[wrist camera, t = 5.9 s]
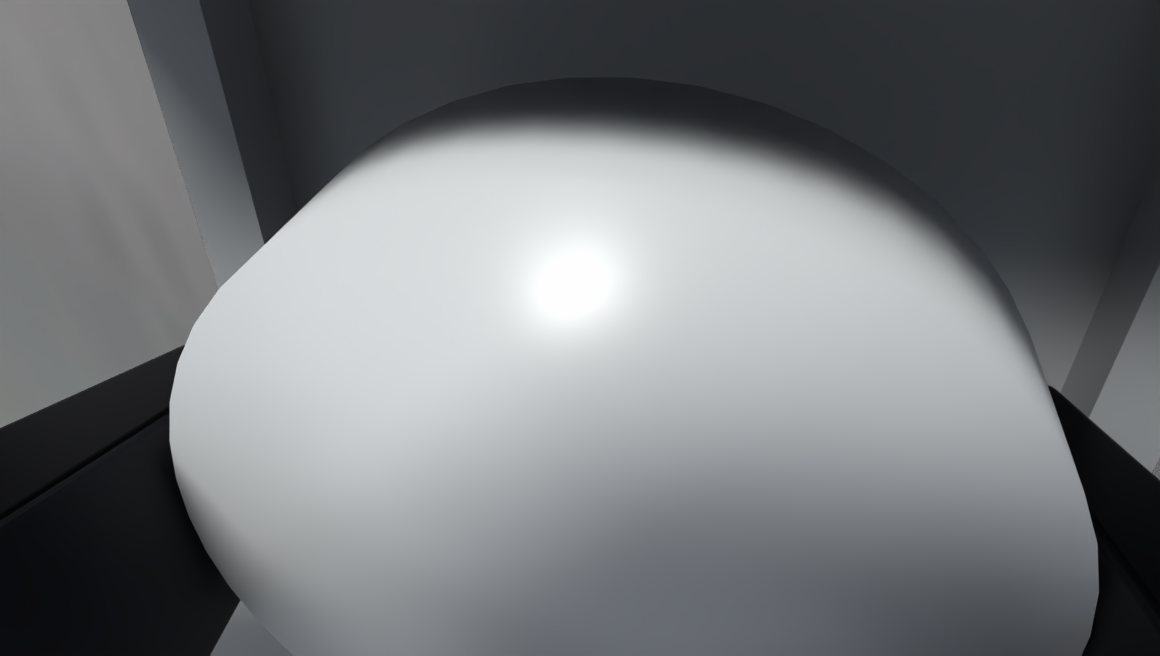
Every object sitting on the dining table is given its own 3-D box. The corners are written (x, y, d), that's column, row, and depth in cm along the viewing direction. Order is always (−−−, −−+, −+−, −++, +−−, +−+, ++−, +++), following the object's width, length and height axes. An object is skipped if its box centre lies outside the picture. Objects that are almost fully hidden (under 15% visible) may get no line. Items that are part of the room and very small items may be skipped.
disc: (932, 725, 9) (950, 884, 8) (343, 609, 11) (279, 731, 9) (1199, 113, 5) (1321, 245, 4) (180, 47, 6) (27, 129, 5)
